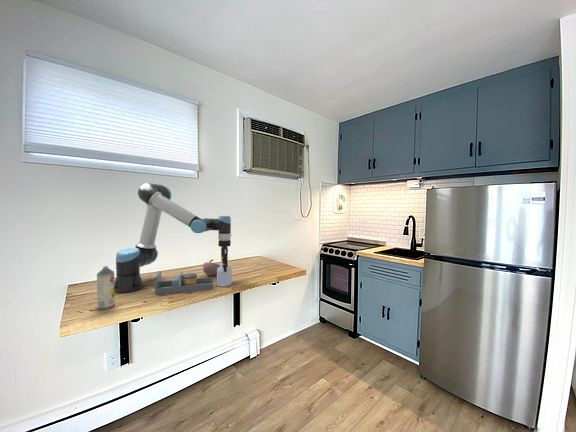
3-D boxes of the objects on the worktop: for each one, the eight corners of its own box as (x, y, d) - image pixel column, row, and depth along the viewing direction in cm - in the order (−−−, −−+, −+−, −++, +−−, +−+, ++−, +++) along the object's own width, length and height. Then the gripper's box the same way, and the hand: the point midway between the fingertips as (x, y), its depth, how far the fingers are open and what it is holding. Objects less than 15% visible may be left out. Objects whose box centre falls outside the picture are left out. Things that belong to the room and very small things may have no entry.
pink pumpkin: (222, 273, 174) (222, 258, 173) (216, 278, 162) (216, 262, 161) (207, 272, 175) (207, 257, 174) (199, 277, 163) (199, 261, 163)
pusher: (171, 292, 134) (171, 276, 134) (173, 286, 144) (173, 271, 144) (180, 291, 136) (180, 276, 136) (182, 285, 146) (182, 271, 146)
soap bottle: (216, 287, 144) (217, 248, 143) (217, 282, 153) (217, 245, 152) (231, 286, 147) (232, 247, 145) (231, 281, 155) (231, 245, 154)
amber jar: (181, 291, 137) (181, 277, 137) (183, 286, 145) (183, 273, 145) (196, 289, 140) (196, 276, 140) (197, 285, 148) (197, 272, 148)
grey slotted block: (154, 295, 130) (154, 277, 130) (159, 287, 143) (159, 271, 142) (213, 289, 141) (213, 272, 141) (212, 282, 153) (212, 267, 153)
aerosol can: (113, 307, 114) (113, 267, 113) (95, 310, 111) (95, 268, 110) (115, 302, 120) (115, 264, 119) (98, 304, 116) (98, 265, 116)
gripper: (232, 242, 139) (232, 279, 140) (228, 237, 160) (228, 269, 161) (219, 242, 137) (219, 280, 138) (217, 237, 157) (217, 270, 158)
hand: (224, 274), depth 149 cm, fingers closed on soap bottle, 9 cm apart
